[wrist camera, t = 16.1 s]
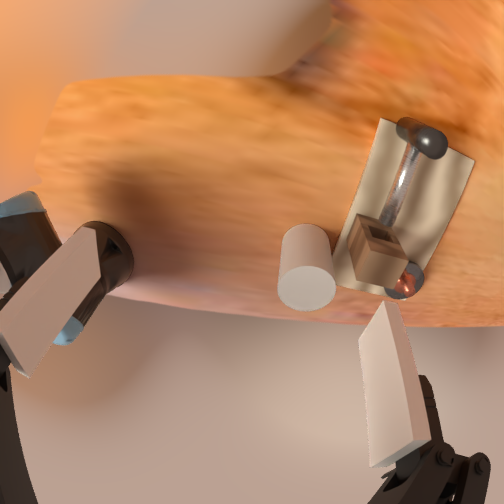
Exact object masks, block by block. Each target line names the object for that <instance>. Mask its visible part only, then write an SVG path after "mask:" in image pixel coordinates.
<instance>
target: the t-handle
mask: <svg viewBox="0 0 504 504" xmlns="http://www.w3.org/2000/svg"><path fill="white" fill-rule="evenodd" d="M396 133H397V135H398V136H399V137H400V138H401V139H402V140H404V141H405V142H407V145H406V148H405V151H404V154H403V157H402V160H401V162H400V165H399V168H398V171H397V173H396V176H395V179H394V181H393V184H392V187H391V189H390V192H389V194H388V197H387V199H386V202H385V204H384V207H383V209H382V212H381V214H380V216H379V219H378V220H379V222H380V223H382V224H383V225H385V226H388V227H393V225H394V223H395V221H396V218H397V216H398V214H399V211H400V209H401V207H402V204H403V202H404V200H405V197H406V195H407V192H408V190H409V187H410V185H411V182H412V180H413V177H414V174H415V172H416V169H417V166H418V164H419V161H420V158H421V156H422V153H423V154H424V155H426V156H427V157H428V158H430V159H433V160H437V159H440V158H442V157H443V156H444V155H445V154H446V152H447V149H448V141H447V138H446V136H445V135H444V134H443V133H442V132H440V131H438V130H436V129H434V128H432V127H430V126H427V125H425V124H423V123H421V122H418V121H416V120H414V119H411V118H409V117H404V118H401V119H400V120H399V121H398V122H397V124H396Z"/></svg>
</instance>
